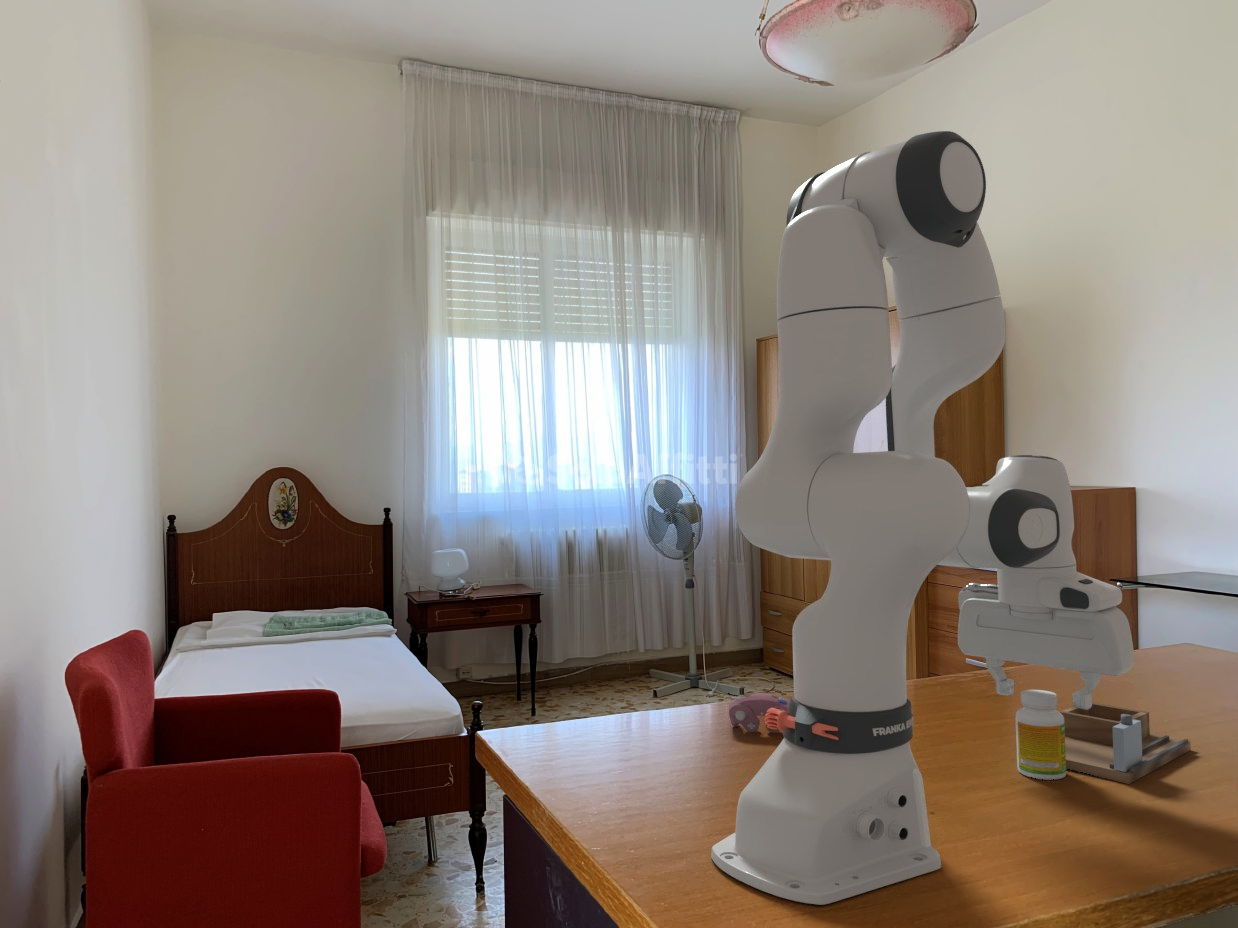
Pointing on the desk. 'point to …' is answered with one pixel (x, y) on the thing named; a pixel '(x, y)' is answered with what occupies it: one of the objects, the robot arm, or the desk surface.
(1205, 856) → the desk surface
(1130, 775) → the board
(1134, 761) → the cover panel
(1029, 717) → the supplement bottle
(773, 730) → the video game controller
